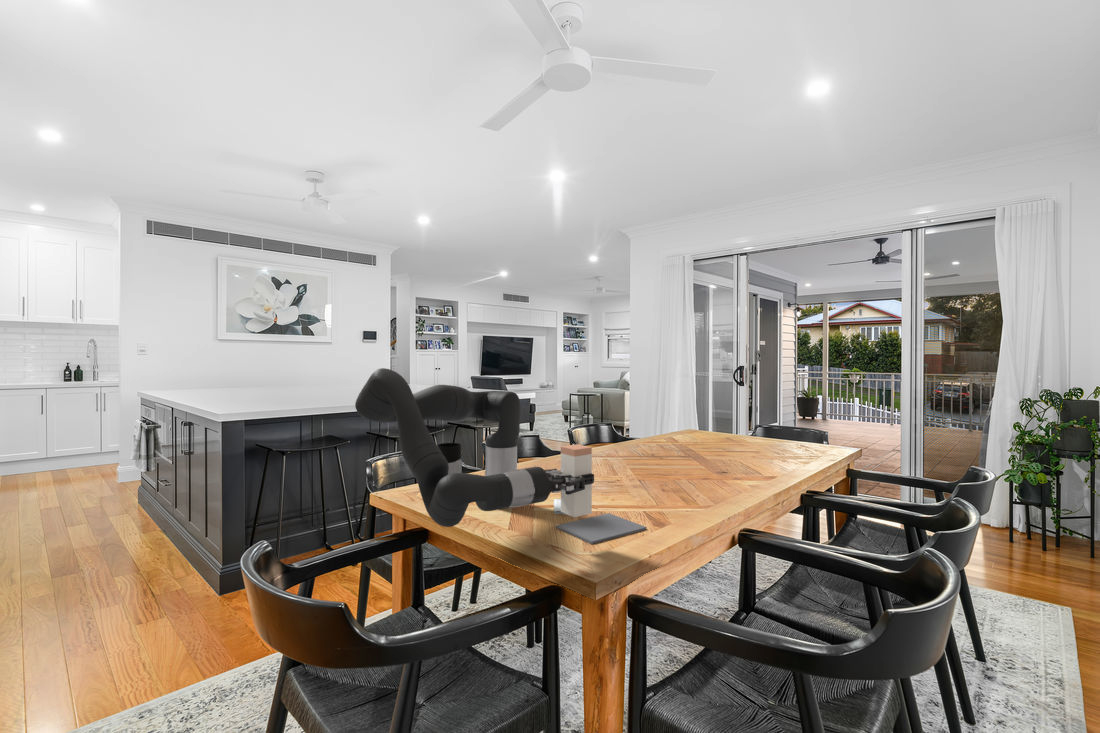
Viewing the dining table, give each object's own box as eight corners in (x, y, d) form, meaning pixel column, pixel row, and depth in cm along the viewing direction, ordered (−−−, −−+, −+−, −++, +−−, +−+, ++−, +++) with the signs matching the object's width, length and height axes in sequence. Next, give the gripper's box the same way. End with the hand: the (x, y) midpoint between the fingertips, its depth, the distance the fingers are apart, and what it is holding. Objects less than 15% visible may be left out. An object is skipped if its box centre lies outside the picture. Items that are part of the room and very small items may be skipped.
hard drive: (583, 511, 140) (580, 498, 153) (553, 511, 140) (553, 498, 153) (583, 517, 140) (580, 503, 153) (553, 517, 140) (553, 503, 153)
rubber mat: (556, 527, 129) (556, 525, 129) (609, 515, 140) (609, 513, 140) (591, 544, 118) (591, 541, 118) (646, 529, 128) (646, 527, 128)
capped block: (560, 511, 117) (560, 446, 116) (577, 507, 120) (577, 444, 119) (574, 517, 113) (574, 449, 112) (591, 513, 116) (591, 447, 115)
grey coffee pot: (468, 490, 166) (468, 444, 166) (438, 500, 154) (438, 450, 153) (447, 486, 170) (448, 441, 170) (417, 496, 158) (417, 448, 158)
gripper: (505, 497, 114) (566, 485, 124) (542, 513, 102) (606, 499, 112) (505, 463, 113) (566, 454, 123) (542, 476, 102) (606, 465, 112)
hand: (585, 475), depth 118 cm, fingers closed on capped block, 5 cm apart
